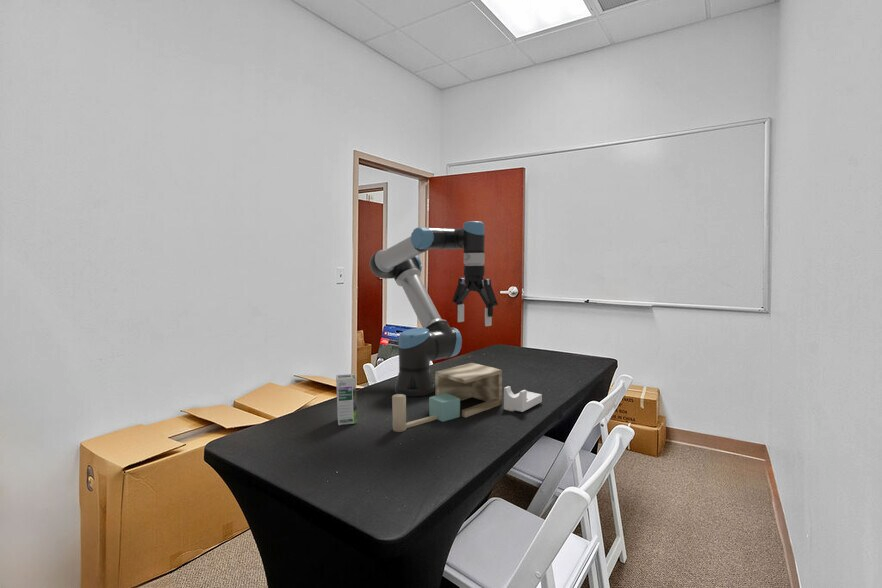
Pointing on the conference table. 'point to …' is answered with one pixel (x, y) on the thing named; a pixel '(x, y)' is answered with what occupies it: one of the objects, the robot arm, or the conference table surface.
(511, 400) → the bracket
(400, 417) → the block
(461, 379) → the wooden frame
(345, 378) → the syrup box
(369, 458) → the conference table surface
